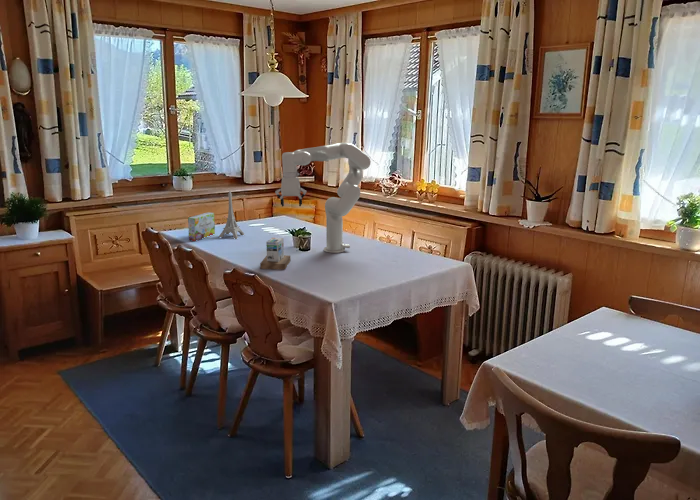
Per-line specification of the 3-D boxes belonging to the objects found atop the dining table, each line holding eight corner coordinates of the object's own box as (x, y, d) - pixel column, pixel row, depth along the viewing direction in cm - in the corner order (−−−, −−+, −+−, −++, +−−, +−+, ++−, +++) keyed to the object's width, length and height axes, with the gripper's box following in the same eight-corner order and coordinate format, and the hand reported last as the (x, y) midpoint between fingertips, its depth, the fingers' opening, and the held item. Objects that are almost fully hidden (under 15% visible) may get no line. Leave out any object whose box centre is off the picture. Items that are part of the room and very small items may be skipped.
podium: (290, 260, 306) (290, 255, 306) (285, 269, 290) (284, 264, 289) (267, 260, 307) (267, 254, 307) (260, 268, 291) (260, 263, 290)
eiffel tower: (245, 235, 367) (243, 189, 360) (237, 239, 355) (235, 192, 347) (226, 233, 370) (224, 189, 363) (217, 238, 358) (215, 191, 350)
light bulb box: (278, 262, 292) (278, 242, 290) (266, 261, 293) (265, 241, 291) (284, 257, 303) (283, 237, 300) (272, 256, 304) (271, 237, 301)
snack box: (196, 241, 348) (194, 218, 344) (188, 241, 350) (187, 217, 346) (215, 234, 367) (214, 212, 363) (208, 234, 369) (207, 211, 365)
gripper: (306, 174, 308) (307, 204, 312) (275, 174, 308) (277, 204, 313) (304, 175, 300) (306, 207, 305) (273, 176, 301) (274, 207, 306)
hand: (291, 205), depth 309 cm, fingers open, 9 cm apart
